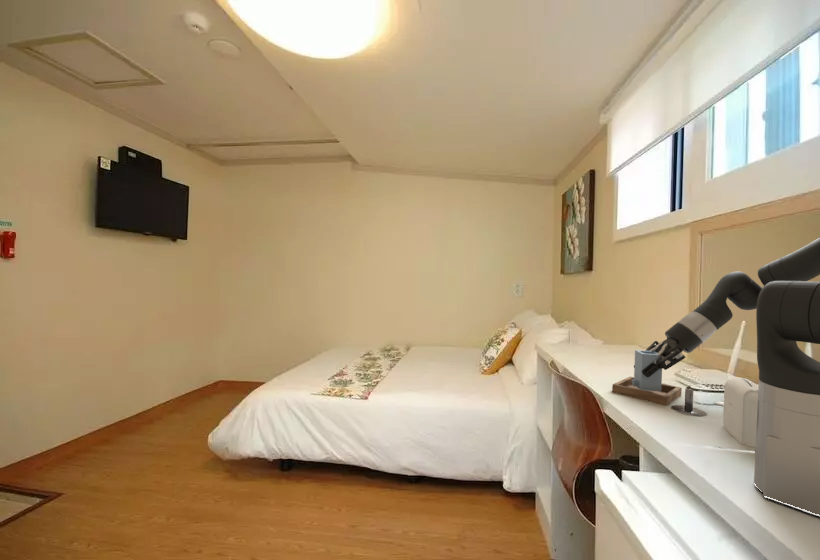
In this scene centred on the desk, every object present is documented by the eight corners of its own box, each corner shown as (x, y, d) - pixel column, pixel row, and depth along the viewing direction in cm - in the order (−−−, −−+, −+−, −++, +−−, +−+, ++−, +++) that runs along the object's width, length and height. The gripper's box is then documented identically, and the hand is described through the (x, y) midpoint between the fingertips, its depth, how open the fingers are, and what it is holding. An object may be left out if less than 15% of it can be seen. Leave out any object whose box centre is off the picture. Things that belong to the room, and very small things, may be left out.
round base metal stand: (714, 419, 85) (715, 395, 85) (679, 416, 87) (680, 393, 87) (697, 408, 92) (697, 386, 92) (665, 405, 94) (666, 384, 94)
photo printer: (719, 426, 82) (722, 371, 81) (744, 430, 80) (746, 374, 80) (739, 446, 72) (742, 384, 72) (767, 450, 71) (770, 388, 70)
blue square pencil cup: (661, 391, 99) (662, 355, 99) (636, 389, 100) (637, 353, 100) (653, 385, 104) (654, 351, 104) (629, 384, 105) (630, 349, 105)
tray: (666, 407, 93) (666, 397, 93) (612, 393, 103) (612, 384, 103) (681, 396, 101) (681, 387, 101) (629, 384, 111) (630, 376, 111)
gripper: (717, 347, 92) (661, 390, 95) (687, 337, 106) (639, 375, 109) (694, 325, 93) (640, 368, 96) (667, 318, 107) (620, 356, 110)
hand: (640, 371), depth 102 cm, fingers closed on blue square pencil cup, 5 cm apart
